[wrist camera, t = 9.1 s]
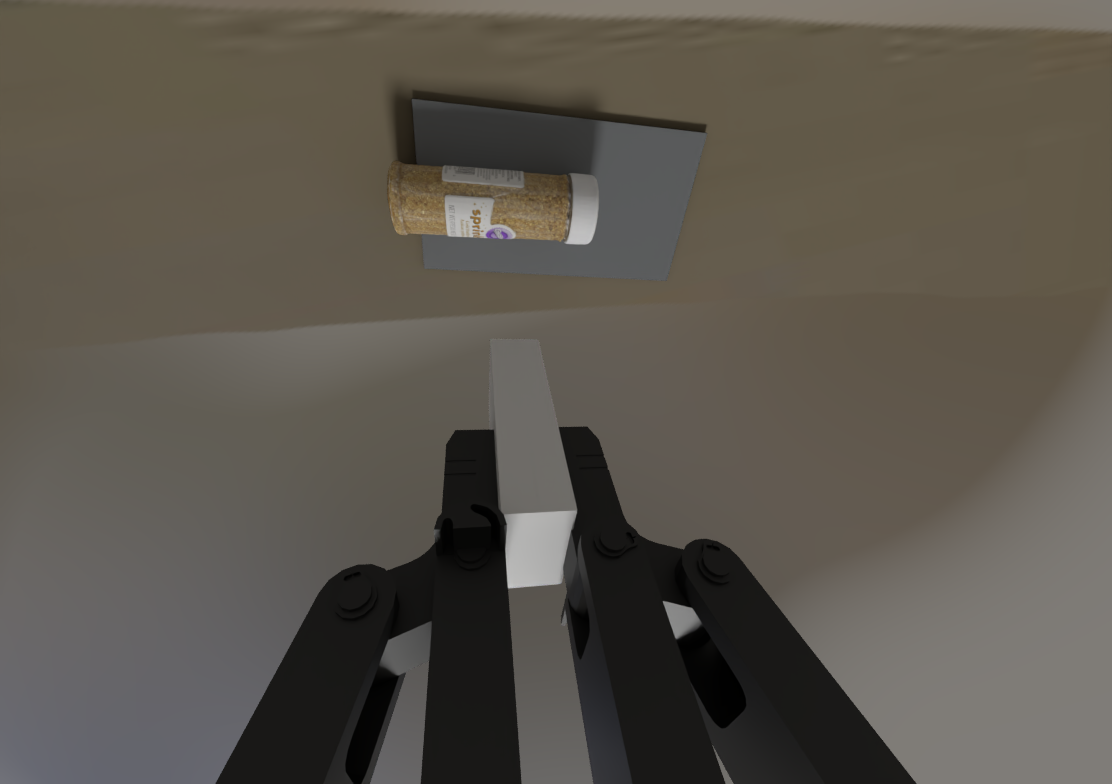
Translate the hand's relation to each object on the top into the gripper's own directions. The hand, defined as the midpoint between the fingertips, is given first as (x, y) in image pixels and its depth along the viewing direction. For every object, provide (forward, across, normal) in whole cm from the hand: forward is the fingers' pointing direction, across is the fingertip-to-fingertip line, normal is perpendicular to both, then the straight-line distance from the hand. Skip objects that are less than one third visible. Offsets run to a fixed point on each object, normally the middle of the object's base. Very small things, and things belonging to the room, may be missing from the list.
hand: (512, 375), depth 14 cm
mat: (+22, +5, 0) cm, 23 cm away
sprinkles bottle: (+20, -7, 0) cm, 21 cm away
